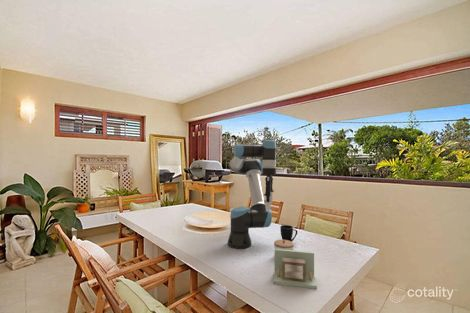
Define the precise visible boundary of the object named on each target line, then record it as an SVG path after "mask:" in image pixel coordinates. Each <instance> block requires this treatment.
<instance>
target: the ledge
mask: <svg viewBox="0 0 470 313" xmlns="http://www.w3.org/2000/svg"><path fill="white" fill-rule="evenodd" d="M282 257H283V258H293V259H303V260H305V262H306V282H300V281H292V280H284V279H282ZM273 272H274V273H273V284H274V285H282V286H290V287H295V288H296V287H297V288H305V289H313V290H317V289H318V286H317V281H316V277H315V252H314V251H313V252H311V251H302V250H294V249H293V250H281V249H275V248H274V271H273Z"/></svg>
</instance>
